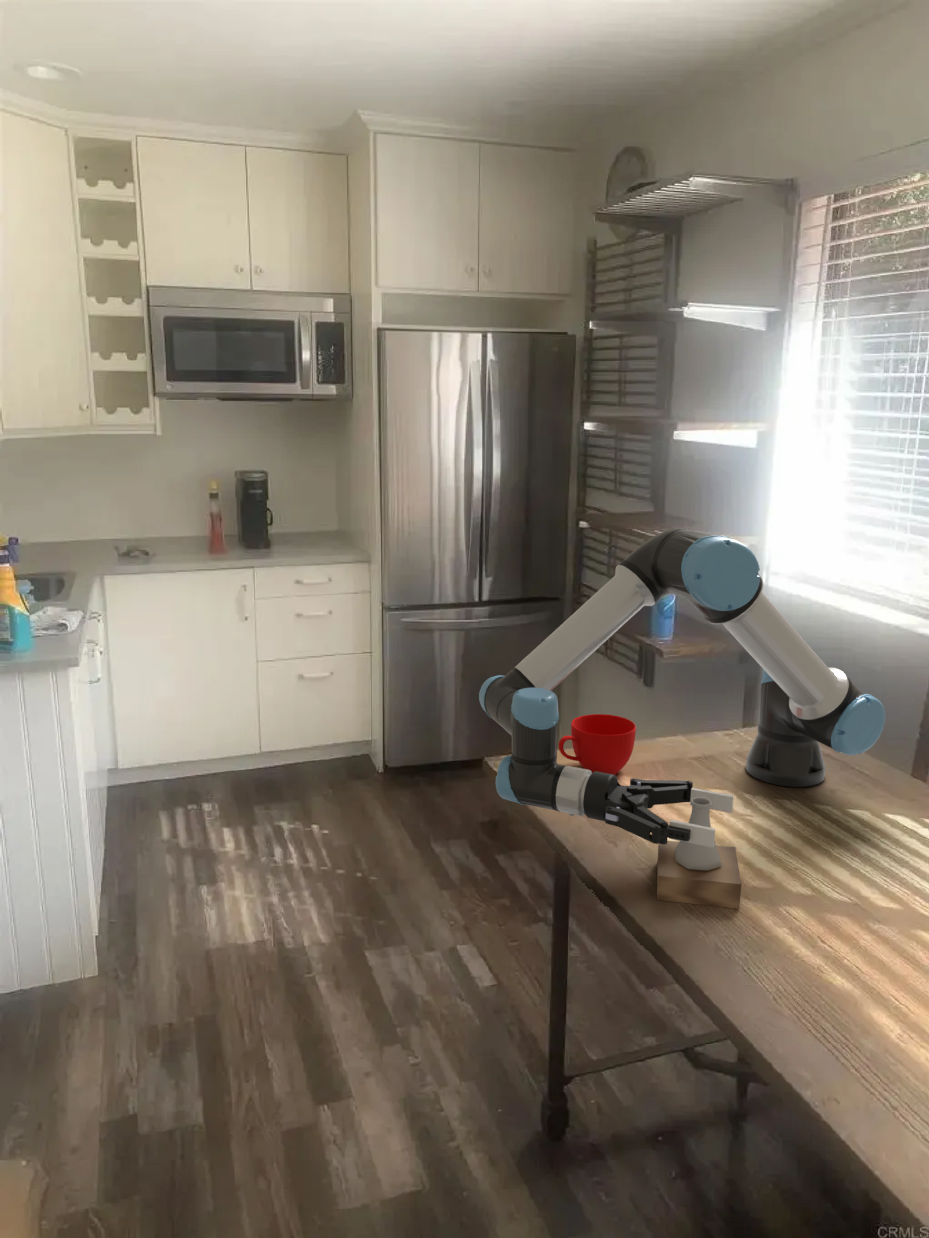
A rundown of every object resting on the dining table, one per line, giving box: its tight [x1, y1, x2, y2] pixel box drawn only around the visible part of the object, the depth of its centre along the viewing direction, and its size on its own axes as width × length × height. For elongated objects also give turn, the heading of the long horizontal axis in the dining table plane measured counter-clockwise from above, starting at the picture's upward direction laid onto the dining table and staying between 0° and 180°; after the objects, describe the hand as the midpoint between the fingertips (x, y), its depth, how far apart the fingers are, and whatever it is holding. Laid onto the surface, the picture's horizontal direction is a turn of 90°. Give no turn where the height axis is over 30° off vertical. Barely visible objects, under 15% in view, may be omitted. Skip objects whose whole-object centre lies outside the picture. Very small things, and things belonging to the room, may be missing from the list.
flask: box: [674, 797, 721, 871], centre depth 141 cm, size 7×7×10 cm
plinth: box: [656, 840, 742, 910], centre depth 143 cm, size 12×12×4 cm
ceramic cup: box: [557, 713, 637, 776], centre depth 186 cm, size 13×17×10 cm
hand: (724, 820), depth 139 cm, fingers open, 12 cm apart
